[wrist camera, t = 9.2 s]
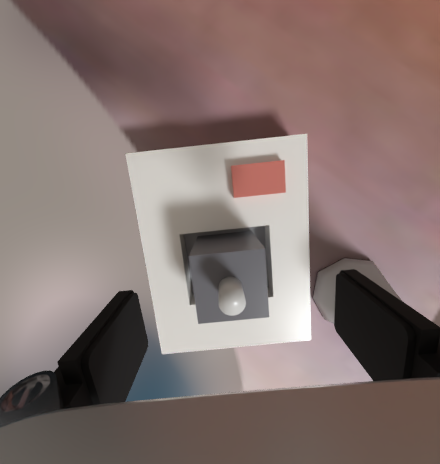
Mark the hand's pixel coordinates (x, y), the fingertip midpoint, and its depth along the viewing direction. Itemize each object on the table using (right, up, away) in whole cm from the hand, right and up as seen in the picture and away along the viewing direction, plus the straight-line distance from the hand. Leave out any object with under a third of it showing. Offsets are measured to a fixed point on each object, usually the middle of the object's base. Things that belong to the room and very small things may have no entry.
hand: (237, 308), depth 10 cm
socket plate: (0, +2, +11) cm, 11 cm away
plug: (0, +1, +10) cm, 10 cm away
